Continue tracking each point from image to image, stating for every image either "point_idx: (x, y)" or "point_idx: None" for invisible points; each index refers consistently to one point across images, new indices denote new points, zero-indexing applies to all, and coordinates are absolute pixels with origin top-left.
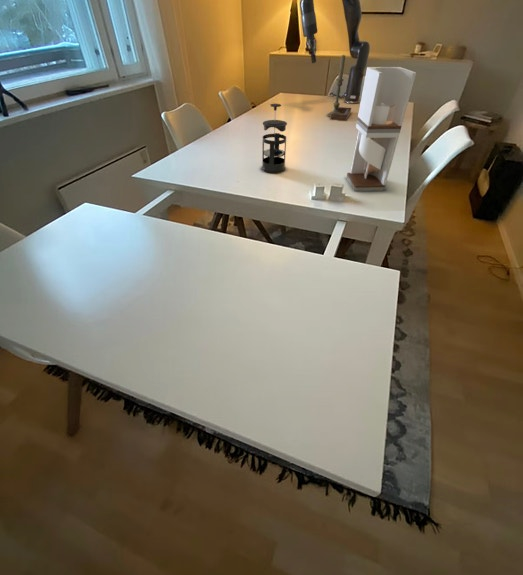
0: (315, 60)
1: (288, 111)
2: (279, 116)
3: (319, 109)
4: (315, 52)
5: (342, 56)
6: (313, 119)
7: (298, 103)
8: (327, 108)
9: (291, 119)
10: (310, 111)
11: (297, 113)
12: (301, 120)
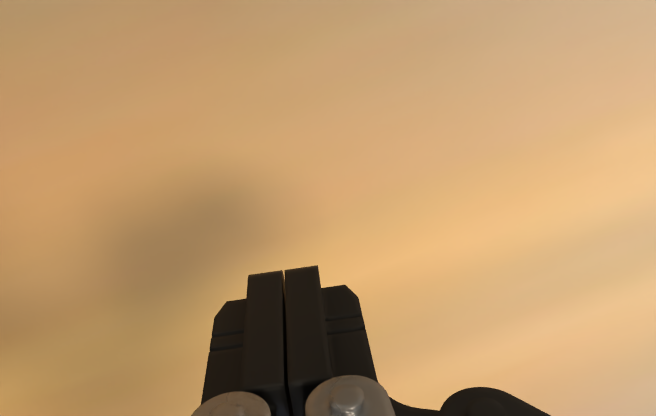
0: (317, 282)
1: None
2: (546, 356)
3: (134, 125)
4: (243, 412)
5: None
6: (522, 50)
7: (20, 379)
8: (54, 66)
9: (602, 230)
10: (251, 176)
11: (378, 257)
12: (600, 138)
